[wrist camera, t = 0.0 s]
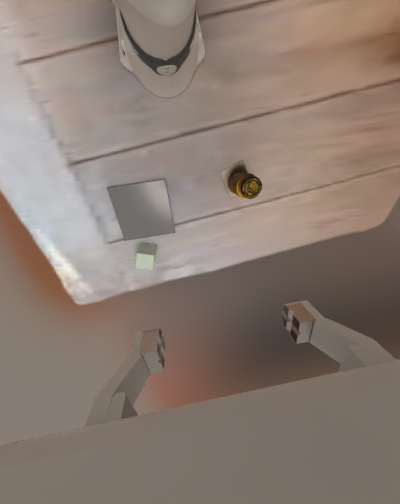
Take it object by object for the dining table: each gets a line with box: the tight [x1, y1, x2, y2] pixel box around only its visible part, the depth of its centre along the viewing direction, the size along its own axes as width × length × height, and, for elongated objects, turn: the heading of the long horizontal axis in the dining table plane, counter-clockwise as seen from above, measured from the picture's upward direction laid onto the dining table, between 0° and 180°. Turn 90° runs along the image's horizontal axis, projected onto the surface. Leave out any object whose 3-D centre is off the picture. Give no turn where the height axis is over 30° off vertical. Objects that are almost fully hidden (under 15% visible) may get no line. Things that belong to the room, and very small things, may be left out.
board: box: [107, 179, 175, 241], centre depth 54 cm, size 16×16×1 cm
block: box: [136, 242, 157, 270], centre depth 57 cm, size 5×5×8 cm
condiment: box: [220, 160, 262, 199], centre depth 49 cm, size 7×8×12 cm
